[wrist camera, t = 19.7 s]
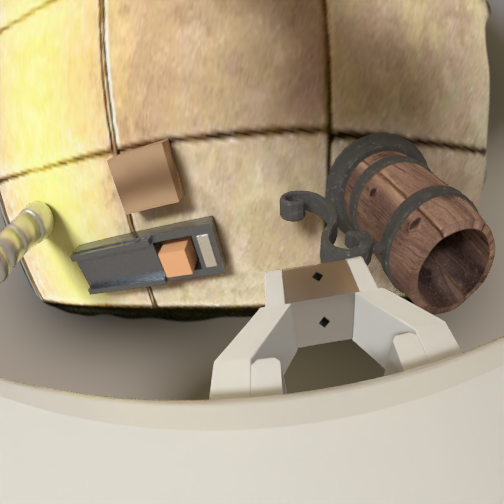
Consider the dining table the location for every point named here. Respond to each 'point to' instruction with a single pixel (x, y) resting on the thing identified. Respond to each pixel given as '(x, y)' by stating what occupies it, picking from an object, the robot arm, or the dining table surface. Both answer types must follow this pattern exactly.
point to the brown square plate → (146, 177)
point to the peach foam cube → (178, 257)
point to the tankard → (400, 222)
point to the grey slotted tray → (147, 256)
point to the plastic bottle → (23, 235)
